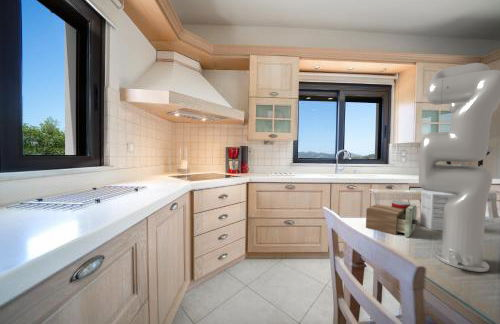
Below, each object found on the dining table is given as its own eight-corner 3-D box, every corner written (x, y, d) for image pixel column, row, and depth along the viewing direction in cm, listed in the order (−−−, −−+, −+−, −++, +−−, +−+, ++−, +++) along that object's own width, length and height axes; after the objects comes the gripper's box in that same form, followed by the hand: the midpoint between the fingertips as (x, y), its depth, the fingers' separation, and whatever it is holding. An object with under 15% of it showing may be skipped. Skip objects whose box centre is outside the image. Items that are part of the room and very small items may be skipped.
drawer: (413, 238, 89) (414, 210, 89) (376, 229, 99) (377, 204, 98) (419, 230, 98) (420, 205, 98) (385, 222, 108) (386, 199, 108)
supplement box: (454, 231, 98) (456, 195, 98) (430, 230, 100) (432, 194, 100) (440, 225, 108) (442, 191, 107) (419, 223, 110) (421, 190, 109)
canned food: (403, 221, 112) (404, 200, 112) (413, 226, 104) (414, 204, 104) (387, 220, 113) (388, 200, 112) (396, 226, 105) (397, 203, 105)
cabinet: (395, 234, 93) (396, 214, 93) (365, 227, 102) (366, 208, 102) (403, 227, 103) (404, 208, 103) (375, 221, 112) (376, 204, 111)
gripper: (439, 128, 102) (437, 165, 102) (495, 126, 89) (492, 167, 90) (441, 130, 107) (439, 165, 107) (494, 127, 94) (491, 167, 95)
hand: (463, 166), depth 99 cm, fingers open, 9 cm apart
